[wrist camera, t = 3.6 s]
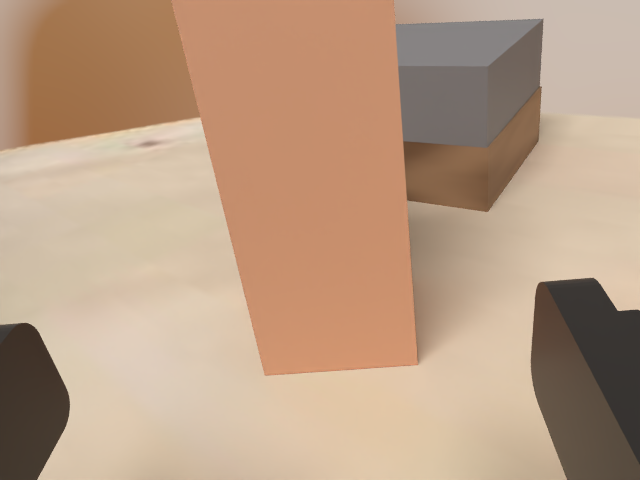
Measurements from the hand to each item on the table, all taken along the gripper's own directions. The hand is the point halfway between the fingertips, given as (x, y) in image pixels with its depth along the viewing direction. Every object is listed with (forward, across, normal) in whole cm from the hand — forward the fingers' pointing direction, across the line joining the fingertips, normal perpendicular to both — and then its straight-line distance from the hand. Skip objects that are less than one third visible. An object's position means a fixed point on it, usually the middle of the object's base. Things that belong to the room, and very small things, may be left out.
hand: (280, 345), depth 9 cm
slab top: (+23, -5, +4) cm, 23 cm away
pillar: (+9, 0, +7) cm, 12 cm away
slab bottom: (+22, -5, +7) cm, 24 cm away
